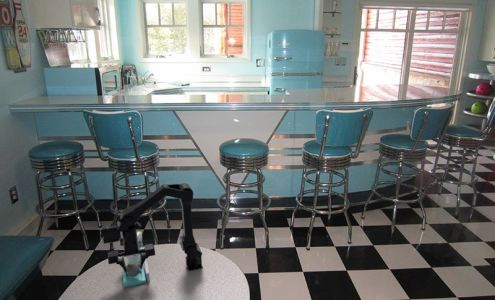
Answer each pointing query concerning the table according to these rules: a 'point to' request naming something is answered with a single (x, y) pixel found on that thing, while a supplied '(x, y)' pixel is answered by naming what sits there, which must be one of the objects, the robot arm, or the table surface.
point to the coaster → (134, 279)
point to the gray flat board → (146, 271)
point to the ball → (133, 270)
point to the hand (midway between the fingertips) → (133, 270)
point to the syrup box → (136, 258)
